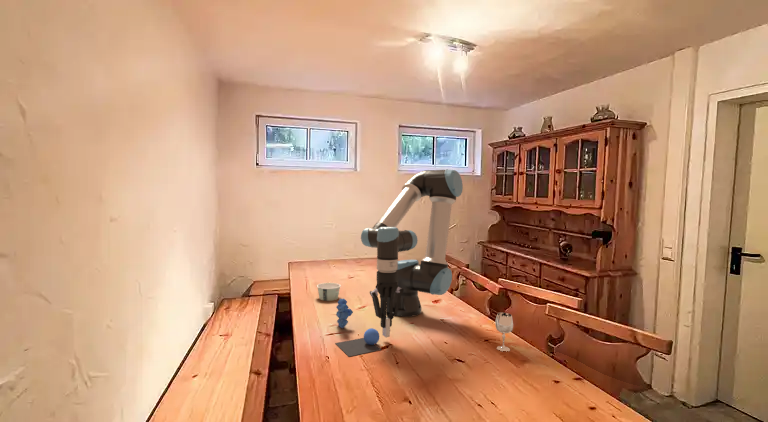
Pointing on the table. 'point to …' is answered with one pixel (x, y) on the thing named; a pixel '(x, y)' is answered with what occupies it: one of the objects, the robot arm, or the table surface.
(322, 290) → the food container
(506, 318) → the wineglass
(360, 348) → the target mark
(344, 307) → the grapes
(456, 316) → the table surface
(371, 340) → the ball
